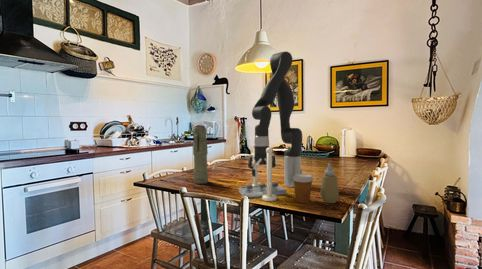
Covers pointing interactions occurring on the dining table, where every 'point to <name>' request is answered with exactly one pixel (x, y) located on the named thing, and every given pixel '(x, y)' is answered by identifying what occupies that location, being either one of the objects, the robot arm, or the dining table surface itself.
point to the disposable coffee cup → (302, 187)
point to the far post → (255, 179)
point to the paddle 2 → (274, 184)
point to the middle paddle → (262, 185)
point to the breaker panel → (261, 191)
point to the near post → (269, 178)
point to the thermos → (200, 155)
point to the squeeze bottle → (329, 186)
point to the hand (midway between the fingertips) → (261, 175)
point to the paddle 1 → (249, 186)
